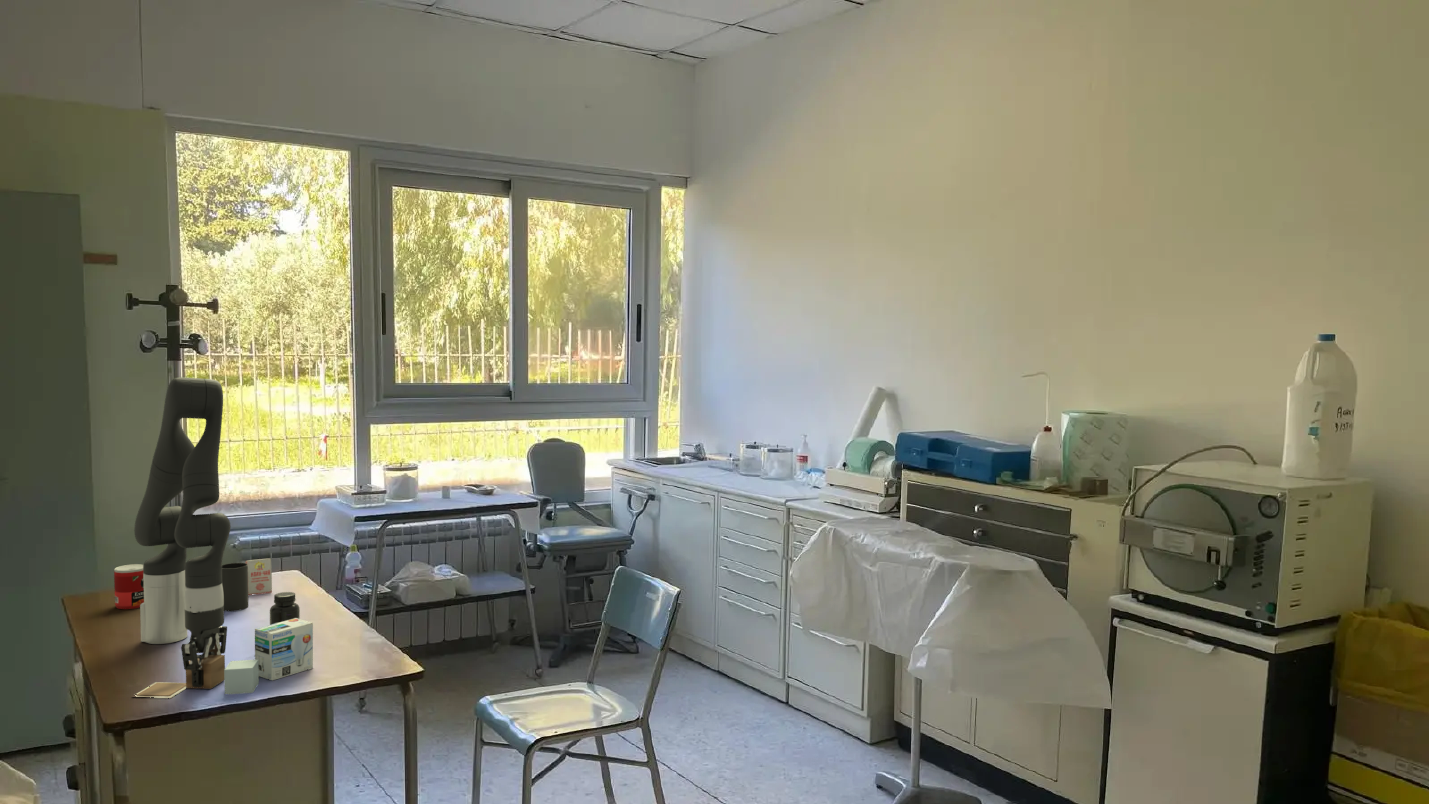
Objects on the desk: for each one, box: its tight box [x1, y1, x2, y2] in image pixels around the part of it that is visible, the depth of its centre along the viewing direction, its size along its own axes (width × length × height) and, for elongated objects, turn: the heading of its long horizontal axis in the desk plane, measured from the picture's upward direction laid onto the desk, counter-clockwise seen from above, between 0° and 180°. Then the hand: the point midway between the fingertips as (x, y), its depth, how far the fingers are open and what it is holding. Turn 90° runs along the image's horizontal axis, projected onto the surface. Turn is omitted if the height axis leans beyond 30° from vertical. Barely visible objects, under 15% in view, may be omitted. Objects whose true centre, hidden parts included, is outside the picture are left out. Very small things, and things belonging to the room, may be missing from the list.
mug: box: [222, 562, 249, 612], centre depth 261 cm, size 10×7×12 cm
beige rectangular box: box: [245, 557, 273, 596], centre depth 278 cm, size 4×7×10 cm, turn 122°
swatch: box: [134, 681, 187, 699], centre depth 200 cm, size 8×8×1 cm
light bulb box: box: [254, 618, 314, 681], centre depth 213 cm, size 11×7×11 cm, turn 148°
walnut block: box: [185, 654, 226, 690], centre depth 204 cm, size 6×6×6 cm
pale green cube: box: [224, 659, 260, 695], centre depth 202 cm, size 6×6×6 cm
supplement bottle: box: [269, 591, 301, 625], centre depth 234 cm, size 7×7×12 cm
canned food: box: [113, 563, 144, 610], centre depth 263 cm, size 8×8×11 cm
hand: (205, 681), depth 204 cm, fingers closed on walnut block, 5 cm apart
